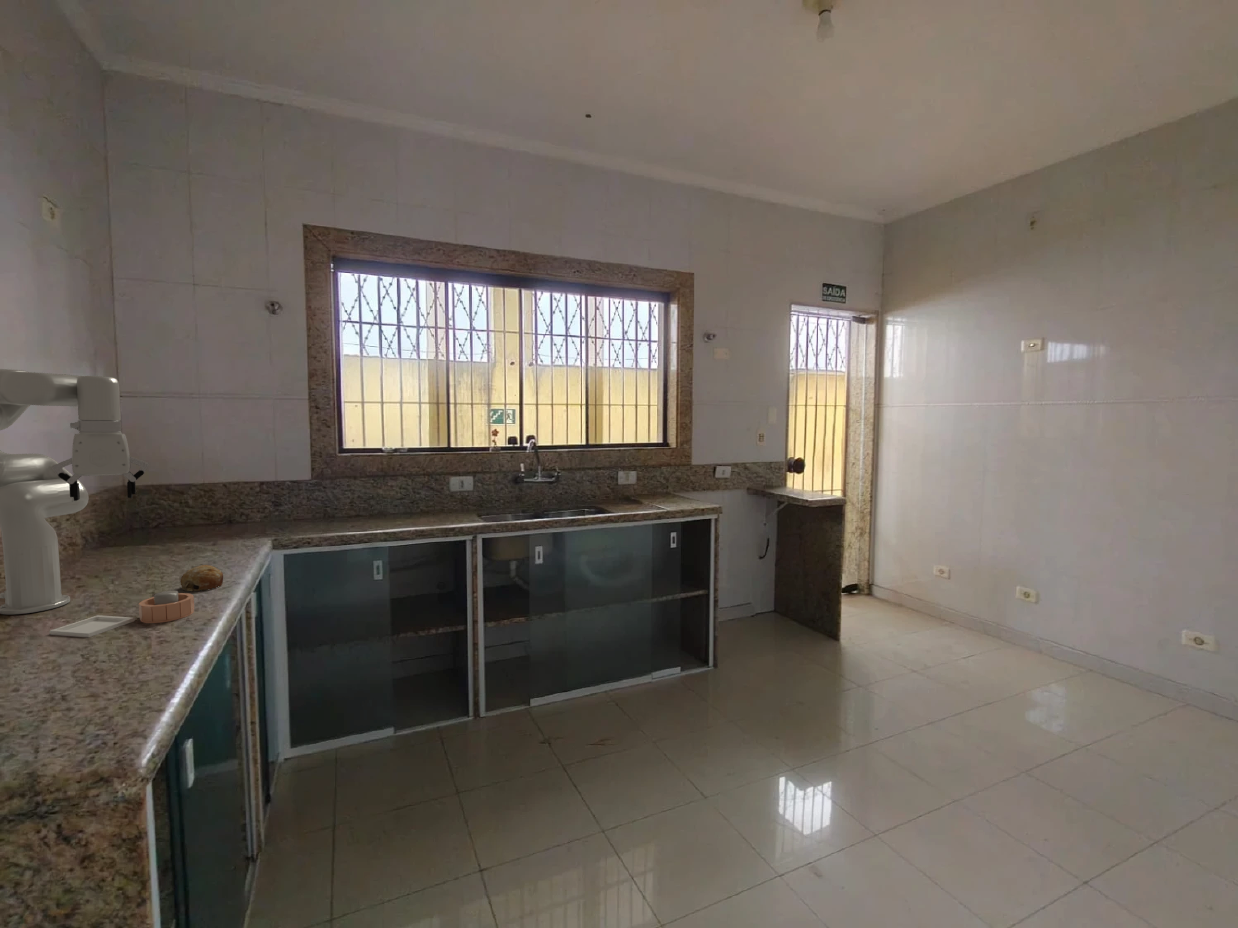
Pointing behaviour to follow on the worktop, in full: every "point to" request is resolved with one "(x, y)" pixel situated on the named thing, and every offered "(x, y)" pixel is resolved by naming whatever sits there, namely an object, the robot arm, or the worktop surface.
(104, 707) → the worktop surface
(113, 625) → the parts tray
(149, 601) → the bowl
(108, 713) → the worktop surface
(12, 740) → the worktop surface
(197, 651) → the worktop surface
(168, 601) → the grey cylinder
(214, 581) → the bread roll
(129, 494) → the robot arm
